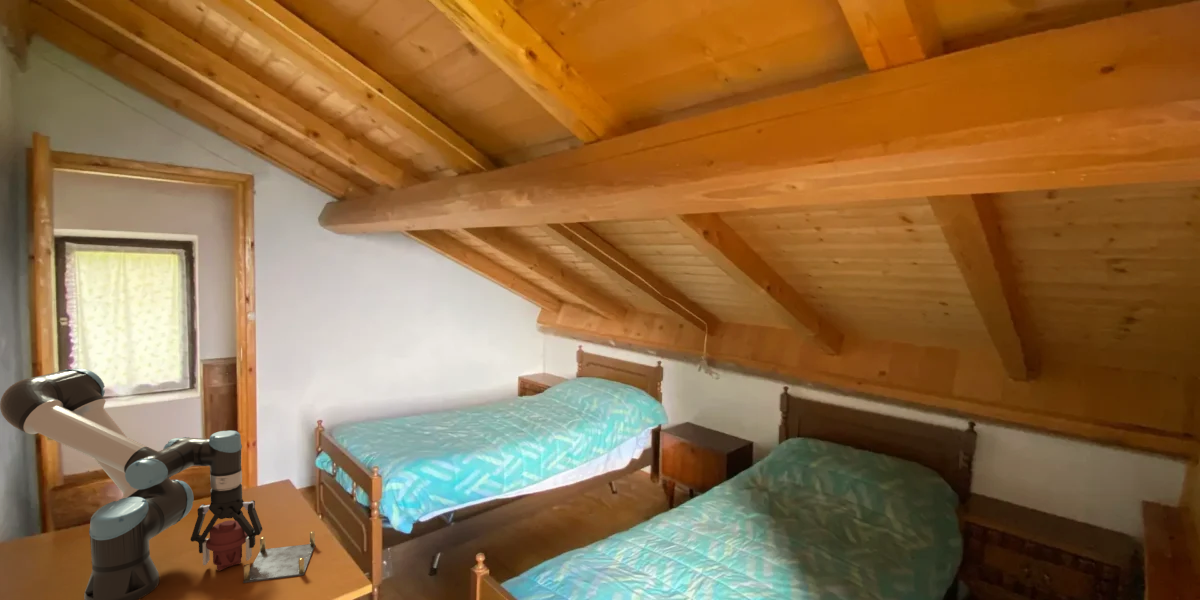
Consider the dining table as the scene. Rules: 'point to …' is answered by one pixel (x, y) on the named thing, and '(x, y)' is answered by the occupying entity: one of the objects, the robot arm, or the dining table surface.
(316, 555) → the dining table surface
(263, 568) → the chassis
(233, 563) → the mechanical component
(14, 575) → the dining table surface
